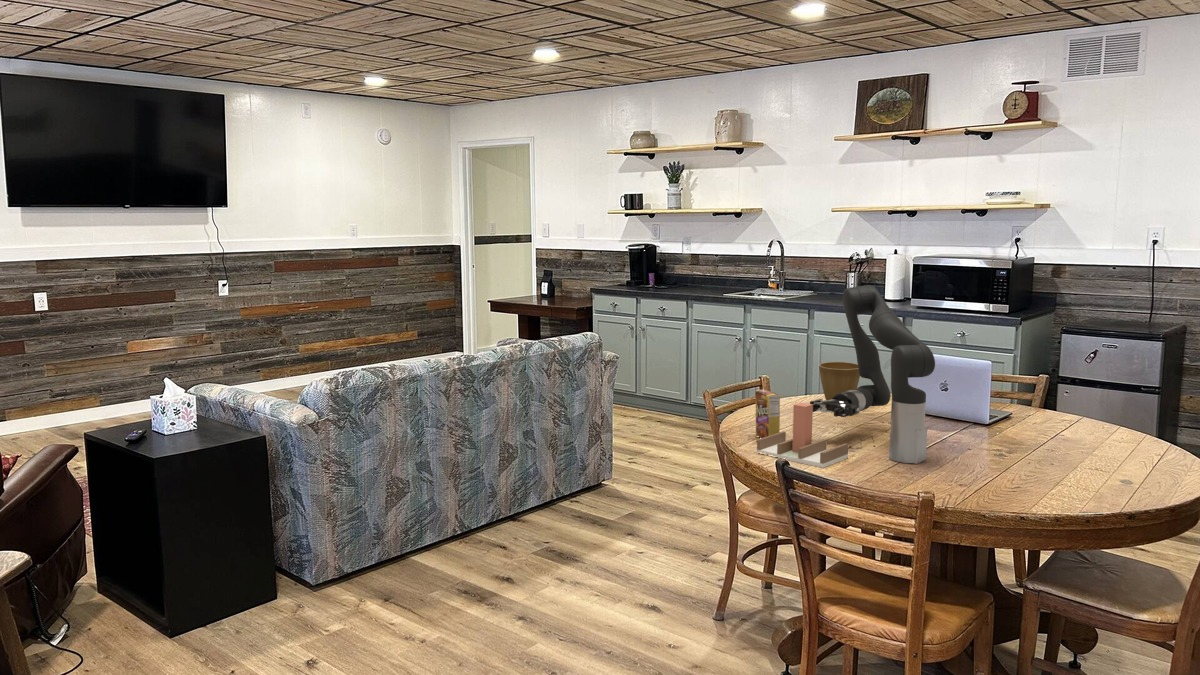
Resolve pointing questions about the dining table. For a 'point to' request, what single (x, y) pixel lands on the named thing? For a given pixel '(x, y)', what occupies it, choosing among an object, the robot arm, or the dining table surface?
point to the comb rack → (802, 450)
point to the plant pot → (838, 377)
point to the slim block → (802, 425)
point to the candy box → (767, 413)
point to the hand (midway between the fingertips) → (822, 411)
